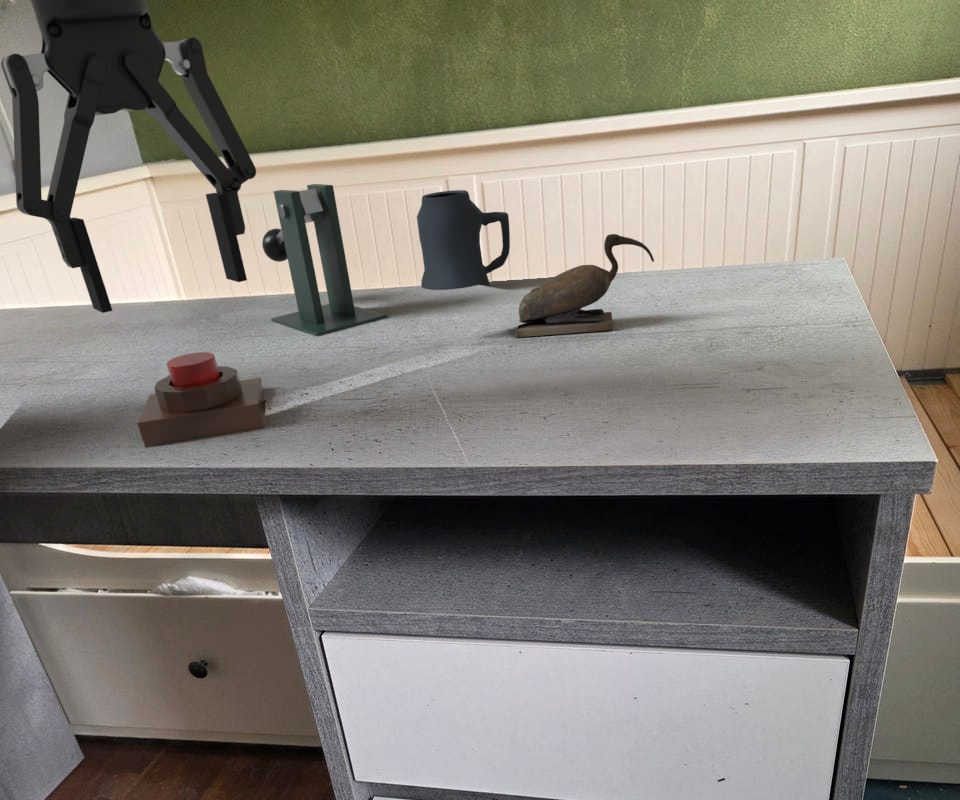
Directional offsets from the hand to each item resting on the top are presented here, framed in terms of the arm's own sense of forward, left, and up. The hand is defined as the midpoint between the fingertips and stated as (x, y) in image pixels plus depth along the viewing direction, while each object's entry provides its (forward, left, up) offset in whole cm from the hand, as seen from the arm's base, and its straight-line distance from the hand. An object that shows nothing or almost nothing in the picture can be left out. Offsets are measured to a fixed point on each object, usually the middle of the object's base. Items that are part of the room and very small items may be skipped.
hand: (172, 294), depth 71 cm
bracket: (+12, +28, -11) cm, 32 cm away
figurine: (+38, +12, -11) cm, 41 cm away
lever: (+10, +32, -2) cm, 34 cm away
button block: (0, 0, -11) cm, 11 cm away
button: (0, 0, -7) cm, 7 cm away
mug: (+30, +38, -11) cm, 50 cm away
